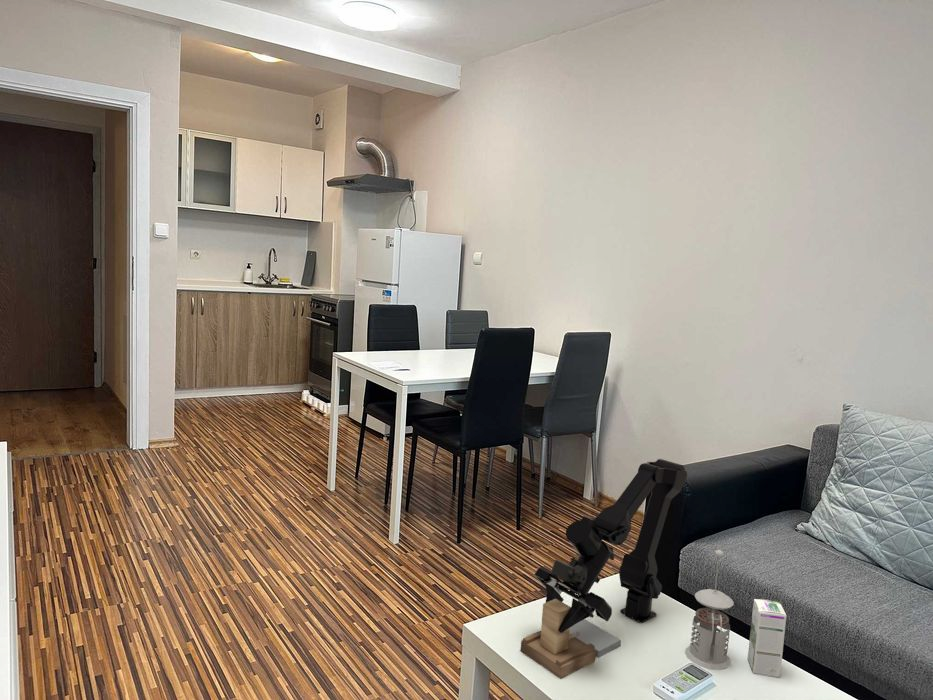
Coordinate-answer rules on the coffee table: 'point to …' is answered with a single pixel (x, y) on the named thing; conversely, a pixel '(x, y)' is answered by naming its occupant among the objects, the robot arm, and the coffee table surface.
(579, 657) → the walnut shelf lane
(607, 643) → the grey rubber pad
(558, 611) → the oak mallet
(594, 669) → the coffee table surface
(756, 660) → the syrup box
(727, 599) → the french press
